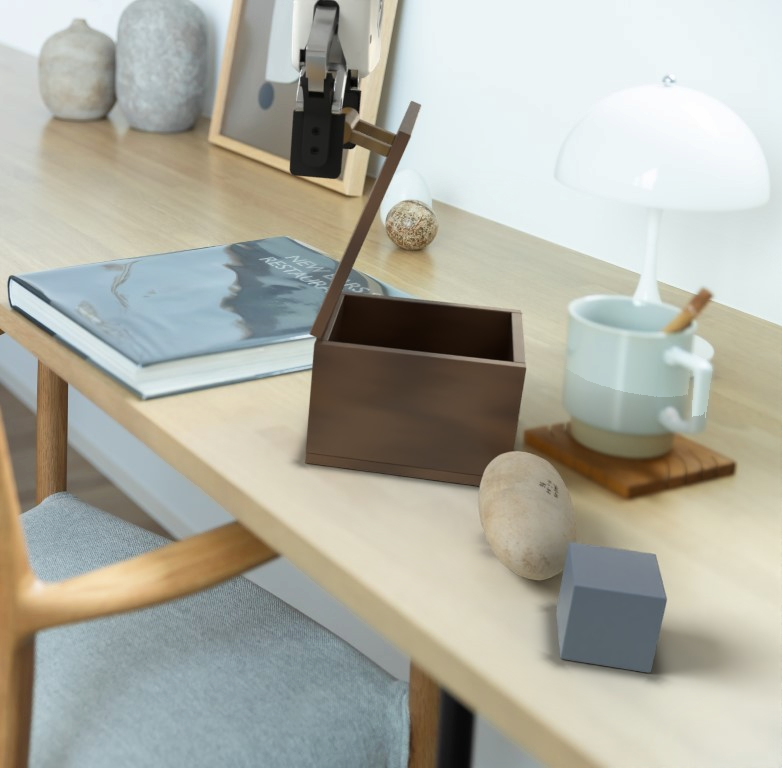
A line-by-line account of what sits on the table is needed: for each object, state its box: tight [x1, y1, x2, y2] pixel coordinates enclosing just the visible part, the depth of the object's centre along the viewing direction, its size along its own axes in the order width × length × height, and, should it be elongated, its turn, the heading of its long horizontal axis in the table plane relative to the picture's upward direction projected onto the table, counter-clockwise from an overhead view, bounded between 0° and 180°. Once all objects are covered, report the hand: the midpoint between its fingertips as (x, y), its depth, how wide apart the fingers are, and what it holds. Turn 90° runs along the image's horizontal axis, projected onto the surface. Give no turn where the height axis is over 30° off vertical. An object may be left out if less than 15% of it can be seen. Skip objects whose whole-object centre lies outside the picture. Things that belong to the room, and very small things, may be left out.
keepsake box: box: [304, 290, 527, 487], centre depth 82 cm, size 14×12×9 cm
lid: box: [309, 100, 422, 339], centre depth 79 cm, size 14×12×5 cm
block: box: [555, 542, 668, 674], centre depth 61 cm, size 4×4×4 cm
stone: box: [478, 450, 577, 581], centre depth 70 cm, size 6×6×12 cm
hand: (324, 160), depth 78 cm, fingers open, 9 cm apart
